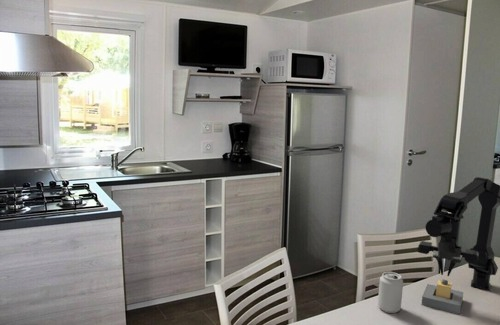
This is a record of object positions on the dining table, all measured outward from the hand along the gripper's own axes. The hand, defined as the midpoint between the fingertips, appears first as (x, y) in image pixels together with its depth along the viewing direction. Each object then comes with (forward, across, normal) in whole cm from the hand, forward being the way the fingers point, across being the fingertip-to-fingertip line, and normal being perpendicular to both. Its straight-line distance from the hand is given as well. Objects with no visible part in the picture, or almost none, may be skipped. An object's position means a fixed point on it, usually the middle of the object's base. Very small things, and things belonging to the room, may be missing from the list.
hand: (445, 275), depth 153 cm
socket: (+10, 0, 0) cm, 10 cm away
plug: (+10, 0, 0) cm, 10 cm away
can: (+10, -15, -15) cm, 24 cm away
